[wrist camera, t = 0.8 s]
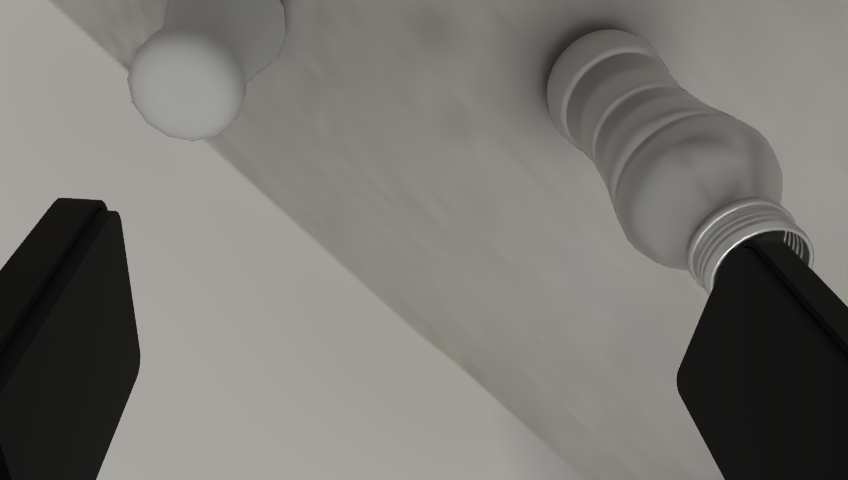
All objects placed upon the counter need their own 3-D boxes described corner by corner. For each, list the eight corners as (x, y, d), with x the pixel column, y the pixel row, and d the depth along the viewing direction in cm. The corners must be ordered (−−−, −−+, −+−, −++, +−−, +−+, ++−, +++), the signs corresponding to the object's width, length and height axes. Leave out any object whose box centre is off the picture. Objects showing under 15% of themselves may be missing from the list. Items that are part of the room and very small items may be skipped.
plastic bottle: (519, 111, 41) (630, 326, 24) (570, 1, 37) (739, 160, 21) (613, 142, 42) (778, 364, 26) (669, 39, 39) (901, 216, 22)
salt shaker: (266, 80, 39) (228, 188, 28) (165, 34, 37) (82, 131, 26) (306, -17, 36) (281, 61, 25) (199, -70, 34) (123, -11, 23)
